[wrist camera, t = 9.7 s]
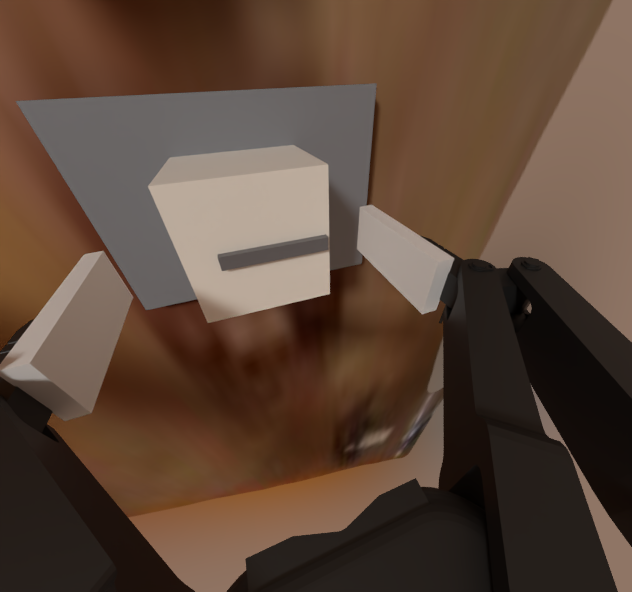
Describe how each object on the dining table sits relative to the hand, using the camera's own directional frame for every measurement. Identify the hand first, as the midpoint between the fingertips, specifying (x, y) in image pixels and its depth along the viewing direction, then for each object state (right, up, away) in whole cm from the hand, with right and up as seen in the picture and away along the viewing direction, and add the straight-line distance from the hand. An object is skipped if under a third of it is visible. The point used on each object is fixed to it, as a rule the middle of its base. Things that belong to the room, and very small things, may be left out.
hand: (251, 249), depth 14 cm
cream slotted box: (-2, +4, +5) cm, 7 cm away
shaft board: (-2, +5, +6) cm, 8 cm away
